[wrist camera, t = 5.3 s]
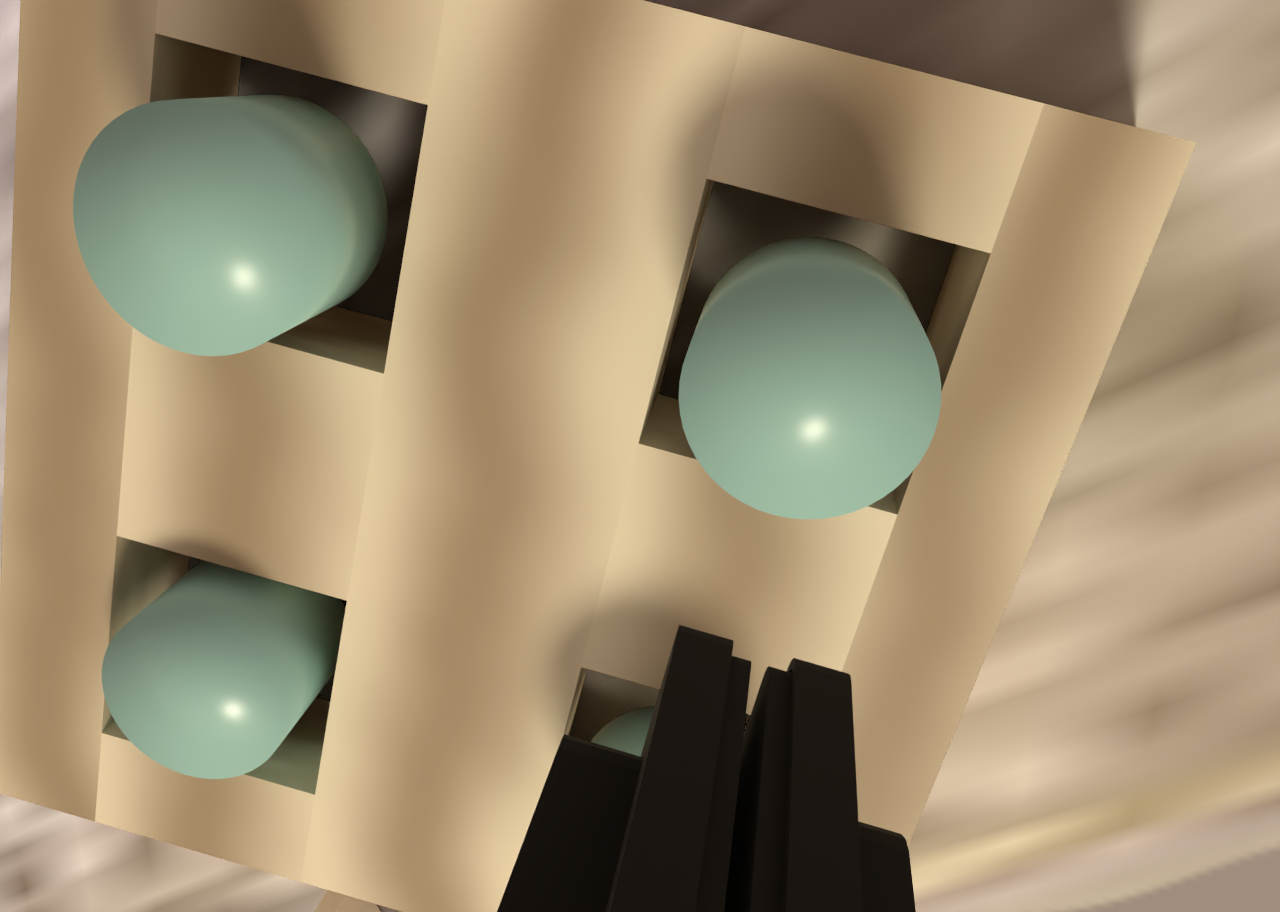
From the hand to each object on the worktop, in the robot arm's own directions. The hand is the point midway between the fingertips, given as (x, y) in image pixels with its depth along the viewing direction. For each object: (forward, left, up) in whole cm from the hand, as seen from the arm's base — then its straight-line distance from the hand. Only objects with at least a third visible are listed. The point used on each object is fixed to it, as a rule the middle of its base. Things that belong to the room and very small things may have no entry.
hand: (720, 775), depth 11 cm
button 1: (+11, -1, -15) cm, 19 cm away
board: (+5, +5, -18) cm, 20 cm away
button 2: (+11, +11, -17) cm, 23 cm away
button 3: (-1, -1, -15) cm, 15 cm away
